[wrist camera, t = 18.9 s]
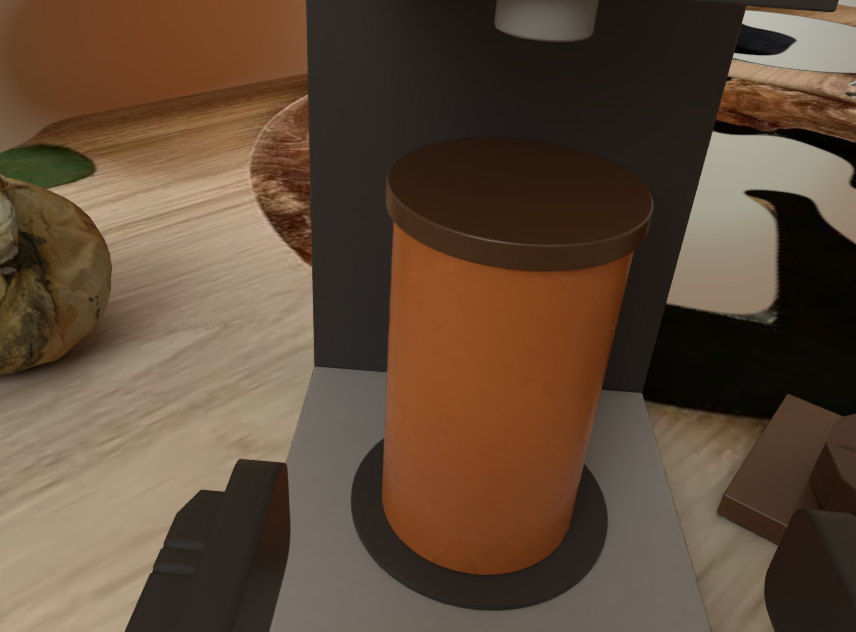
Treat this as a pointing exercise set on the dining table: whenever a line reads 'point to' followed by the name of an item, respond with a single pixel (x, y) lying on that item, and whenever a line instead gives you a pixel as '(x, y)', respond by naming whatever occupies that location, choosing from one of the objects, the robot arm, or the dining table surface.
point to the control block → (794, 470)
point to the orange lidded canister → (499, 341)
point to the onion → (47, 275)
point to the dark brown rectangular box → (371, 279)
